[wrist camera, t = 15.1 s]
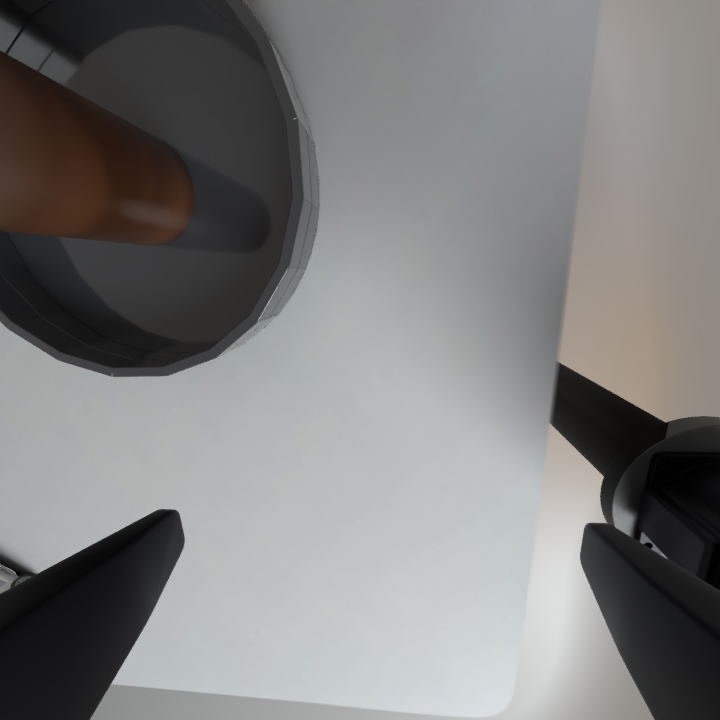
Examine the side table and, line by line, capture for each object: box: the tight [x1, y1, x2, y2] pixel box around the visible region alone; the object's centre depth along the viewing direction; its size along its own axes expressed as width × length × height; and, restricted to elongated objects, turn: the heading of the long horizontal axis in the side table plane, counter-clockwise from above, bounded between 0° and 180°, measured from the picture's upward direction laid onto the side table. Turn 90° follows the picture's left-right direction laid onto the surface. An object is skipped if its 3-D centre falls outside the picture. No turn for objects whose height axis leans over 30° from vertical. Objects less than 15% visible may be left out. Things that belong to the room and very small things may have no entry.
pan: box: [0, 0, 319, 377], centre depth 16 cm, size 18×18×4 cm
